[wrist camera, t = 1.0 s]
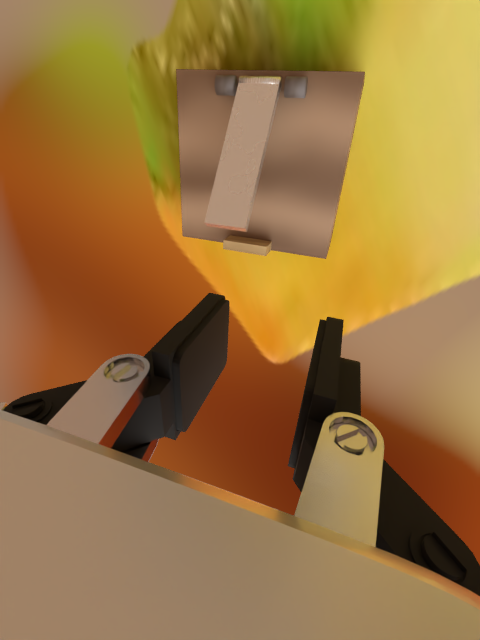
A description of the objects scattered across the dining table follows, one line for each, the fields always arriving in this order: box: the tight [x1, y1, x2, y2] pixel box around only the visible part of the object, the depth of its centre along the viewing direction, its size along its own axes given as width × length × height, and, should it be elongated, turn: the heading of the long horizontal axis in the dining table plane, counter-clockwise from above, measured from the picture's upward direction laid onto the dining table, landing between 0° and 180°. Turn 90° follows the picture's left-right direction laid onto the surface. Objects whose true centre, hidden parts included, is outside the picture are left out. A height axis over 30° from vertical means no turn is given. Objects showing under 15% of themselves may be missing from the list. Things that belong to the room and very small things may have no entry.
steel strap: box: [204, 76, 282, 232], centre depth 22 cm, size 11×3×1 cm
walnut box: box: [176, 69, 365, 259], centre depth 27 cm, size 13×14×7 cm
